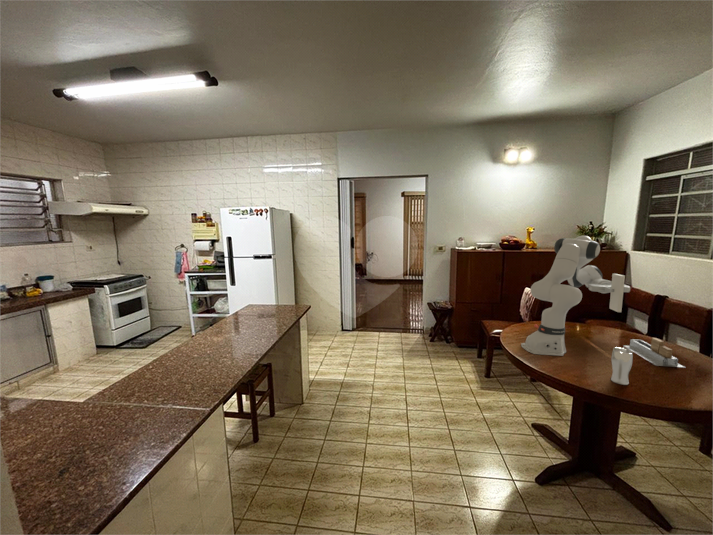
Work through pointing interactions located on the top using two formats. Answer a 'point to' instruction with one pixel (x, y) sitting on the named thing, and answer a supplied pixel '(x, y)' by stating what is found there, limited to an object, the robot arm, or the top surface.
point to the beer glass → (621, 365)
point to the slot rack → (651, 354)
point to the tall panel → (617, 292)
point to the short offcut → (665, 351)
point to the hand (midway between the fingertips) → (616, 290)
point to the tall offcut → (656, 344)
